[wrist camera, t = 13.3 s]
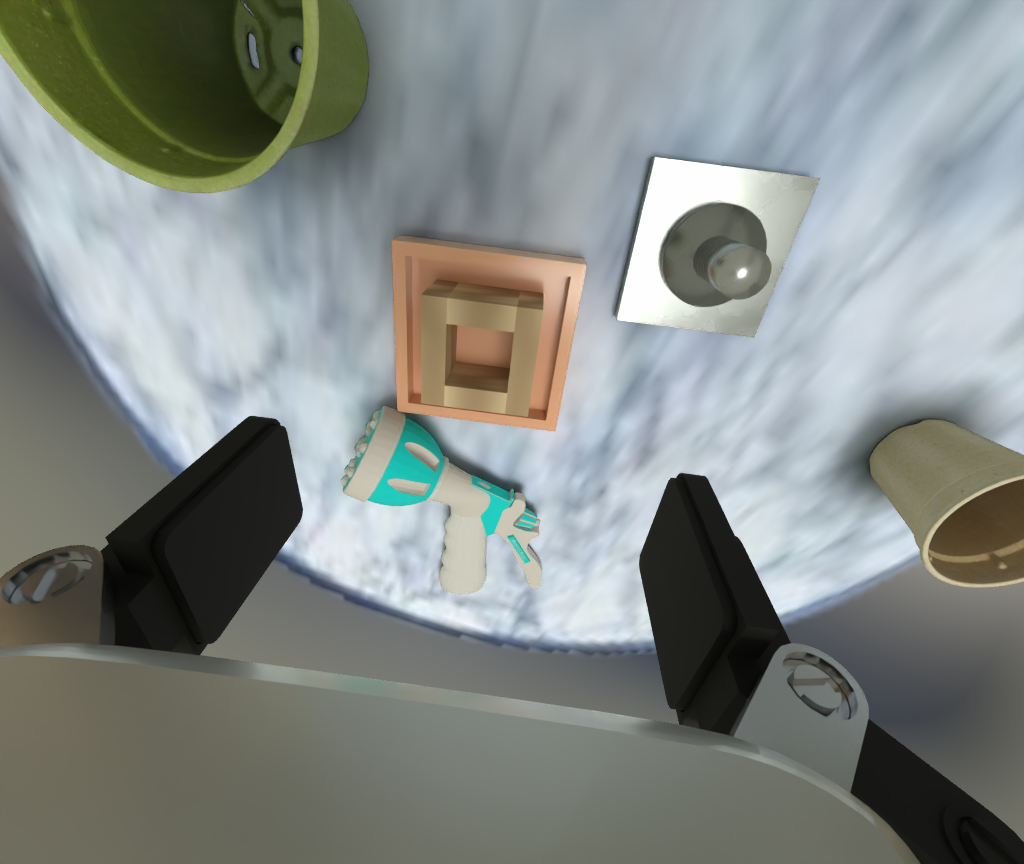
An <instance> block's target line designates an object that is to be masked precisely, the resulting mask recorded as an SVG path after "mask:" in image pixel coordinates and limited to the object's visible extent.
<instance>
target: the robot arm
mask: <svg viewBox="0 0 1024 864" xmlns="http://www.w3.org/2000/svg"><path fill="white" fill-rule="evenodd" d="M302 513H303V507H302V502H301V497H300V493H299V488H298V483H297V478H296V473H295V469H294V464H293V459H292V454H291V449H290V445H289V440H288V435H287V431H286V428H285V427H284V426H281V425H280V423H279V422H278V420H276V419H272V418H265V417H257V416H249V417H248V418H246V419H245V420H244V421H242V422H241V423H240V424H239V425H238V426H236V427H235V428H234V429H233V430H232V431H231V432H229V433H228V434H227V435H226V436H225V437H223V438H222V439H221V440H220V441H219V442H218V443H216V444H215V445H214V446H213V447H212V448H210V449H209V450H208V451H207V452H206V453H205V454H203V455H202V456H201V457H200V458H199V459H197V460H196V461H195V462H194V463H193V464H192V465H190V466H189V467H188V468H187V469H186V470H184V471H183V472H182V473H181V474H180V475H179V476H177V477H176V478H175V479H174V480H173V481H172V482H170V483H169V484H168V485H167V486H166V487H164V488H163V489H162V490H161V491H160V492H159V493H157V494H156V495H155V496H154V497H153V498H151V499H150V500H149V501H148V502H147V503H146V504H144V505H143V506H142V507H141V508H140V509H138V510H137V511H136V512H135V513H134V514H133V515H131V516H130V517H129V518H128V519H127V520H125V521H124V522H123V523H122V524H121V525H119V526H118V527H117V528H116V529H115V530H114V531H112V532H111V533H110V534H109V535H108V536H107V537H106V539H107V541H108V543H109V544H108V545H107V546H106V547H105V548H103V549H102V550H101V551H99V550H97V549H96V548H95V547H90V546H85V545H73V546H72V545H70V546H65V547H60V548H55V549H52V550H49V551H46V552H43V553H41V554H38V555H35V556H33V557H31V558H29V559H27V560H25V561H24V562H21V563H20V564H18V565H17V566H15V567H14V568H12V569H11V570H9V571H8V572H6V573H5V574H4V575H3V576H2V577H1V578H0V864H1024V842H1023V841H1022V840H1021V839H1020V838H1019V837H1018V836H1017V834H1016V833H1015V832H1014V831H1013V830H1012V829H1010V828H1009V827H1008V826H1007V825H1006V824H1005V823H1003V822H1002V821H1001V820H1000V819H999V818H998V817H996V816H995V815H994V814H993V813H992V812H990V811H989V810H988V809H986V808H985V807H984V806H982V805H981V804H980V803H978V802H977V801H976V800H974V799H973V798H972V797H971V796H969V795H968V794H966V793H965V792H964V791H963V790H961V789H960V788H959V787H957V786H956V785H955V784H953V783H952V782H951V781H950V780H948V779H947V778H946V777H944V776H943V775H941V774H940V773H939V772H938V771H936V770H935V769H934V768H932V767H931V766H930V765H929V764H927V763H926V762H925V761H923V760H922V759H921V758H919V757H918V756H917V755H915V754H914V753H912V752H911V751H910V750H909V749H907V748H906V747H905V746H904V745H902V744H901V743H899V742H898V741H897V740H896V739H894V738H893V737H892V736H890V735H889V734H888V733H886V732H885V731H884V730H883V729H881V728H880V727H878V726H877V725H876V724H875V723H873V722H872V721H871V720H869V710H868V709H869V707H868V704H867V701H866V698H865V695H864V693H863V691H862V690H861V688H860V687H859V685H858V683H857V682H856V681H855V679H854V678H853V677H852V676H851V675H850V674H849V673H848V671H846V670H845V668H844V667H843V666H841V665H840V664H839V663H837V662H836V661H835V660H834V659H832V658H831V657H830V656H828V655H826V654H825V653H823V652H821V651H819V650H817V649H815V648H812V647H809V646H806V645H803V644H792V643H791V642H790V641H789V638H788V636H787V634H786V632H785V630H784V628H783V626H782V624H781V622H780V620H779V618H778V616H777V614H776V612H775V610H774V608H773V606H772V603H771V601H770V599H769V597H768V595H767V593H766V591H765V589H764V587H763V585H762V583H761V581H760V579H759V577H758V575H757V573H756V571H755V569H754V567H753V564H752V562H751V560H750V558H749V556H748V554H747V552H746V550H745V548H744V546H743V544H742V542H741V541H740V539H739V538H738V537H736V536H735V535H734V533H733V531H732V529H731V527H730V525H729V523H728V521H727V518H726V516H725V514H724V512H723V510H722V508H721V506H720V504H719V502H718V500H717V497H716V495H715V493H714V491H713V489H712V487H711V485H710V483H709V481H708V479H707V478H706V477H705V476H700V475H693V474H685V473H680V474H679V475H678V476H677V478H670V480H669V481H668V483H667V486H666V489H665V491H664V494H663V497H662V499H661V502H660V504H659V507H658V510H657V512H656V515H655V518H654V520H653V523H652V525H651V528H650V531H649V533H648V536H647V538H646V541H645V544H644V546H643V549H642V552H641V555H640V560H639V568H640V573H641V578H642V583H643V588H644V593H645V598H646V602H647V607H648V612H649V617H650V622H651V627H652V631H653V636H654V641H655V646H656V651H657V655H658V660H659V665H660V670H661V675H662V680H663V684H664V689H665V694H666V699H667V702H668V705H669V707H670V708H671V709H676V712H677V716H678V721H679V725H678V724H672V723H665V722H660V721H654V720H648V719H641V718H635V717H628V716H623V715H617V714H611V713H605V712H599V711H592V710H585V709H578V708H571V707H565V706H558V705H551V704H544V703H537V702H530V701H523V700H517V699H510V698H502V697H496V696H489V695H482V694H475V693H468V692H461V691H455V690H447V689H440V688H433V687H426V686H419V685H412V684H405V683H398V682H391V681H384V680H377V679H370V678H362V677H355V676H348V675H341V674H334V673H327V672H319V671H312V670H305V669H297V668H289V667H283V666H275V665H268V664H260V663H253V662H246V661H238V660H231V659H224V658H216V657H209V656H201V655H200V654H201V653H202V651H203V650H204V649H205V647H206V646H207V644H211V643H214V642H215V641H216V640H217V639H218V638H219V637H220V635H221V634H222V633H223V631H224V630H225V628H226V627H227V625H228V624H229V623H230V621H231V620H232V618H233V617H234V615H235V614H236V613H237V611H238V610H239V608H240V607H241V605H242V604H243V602H244V601H245V600H246V598H247V597H248V595H249V594H250V592H251V591H252V589H253V588H254V587H255V585H256V584H257V582H258V581H259V580H260V578H261V577H262V575H263V574H264V572H265V571H266V570H267V568H268V567H269V565H270V564H271V562H272V561H273V560H274V558H275V557H276V555H277V554H278V552H279V551H280V550H281V548H282V547H283V545H284V544H285V542H286V541H287V540H288V538H289V537H290V535H291V534H292V532H293V531H294V530H295V528H296V527H297V525H298V524H299V522H300V520H301V518H302Z"/></svg>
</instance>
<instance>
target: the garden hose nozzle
mask: <svg viewBox="0 0 1024 864" xmlns="http://www.w3.org/2000/svg"><path fill="white" fill-rule="evenodd" d="M372 418H373V419H372V421H369V422H367V424H366V431H365V434H366V436H365V438H361V439H360V440H359V442H358V443H357V444H356V445H355V450H356V457H355V458H354V459H351V460H350V462H349V465H347V466H346V468H345V473H346V474H347V475H345V476H344V477H343V478H342V480H341V483H342V485H343V486H344V487H343V493H344V494H346V495H348V496H350V497H353V498H355V499H358V500H360V501H362V502H364V501H366V500H369V501H371V502H374V503H378V504H382V505H389V506H406V505H412V504H416V503H419V502H422V501H428V502H429V501H431V500H432V501H436V502H440V503H444V504H447V505H449V506H450V507H451V509H450V511H451V515H450V517H449V518H448V519H447V521H446V523H445V528H446V533H445V536H444V542H445V545H446V550H445V551H444V552H443V554H442V556H441V560H442V563H443V566H442V568H441V570H440V573H439V578H440V584H441V587H442V588H443V589H444V590H445V591H448V592H450V593H454V594H470V593H474V592H476V591H478V590H480V589H481V588H482V586H483V584H484V581H485V579H486V567H485V559H486V536H488V535H491V534H494V533H496V534H498V535H499V536H501V537H502V538H503V539H504V540H505V541H506V542H507V543H508V544H509V545H510V547H511V549H512V551H513V553H514V555H515V557H516V559H517V561H518V563H519V564H520V566H521V568H522V569H523V571H524V573H525V575H526V578H527V581H528V583H529V584H530V586H531V588H533V589H538V588H539V586H540V582H541V577H542V566H541V562H540V560H539V558H538V557H537V556H536V554H535V553H534V552H533V551H532V550H531V548H530V547H529V546H528V543H529V542H530V540H532V539H533V538H535V537H536V536H538V535H539V527H538V525H539V524H540V520H539V519H538V518H537V515H536V514H535V513H533V512H532V511H530V510H529V509H527V508H526V507H525V506H526V504H525V496H524V495H523V494H522V493H517V492H515V493H514V489H511V490H510V492H508V491H506V490H503V489H501V488H499V487H497V486H495V485H493V484H491V483H489V482H486V481H484V480H482V479H480V478H478V477H476V476H474V475H470V474H468V473H466V472H465V471H463V470H461V469H459V468H458V467H456V466H454V465H453V464H451V463H449V459H448V458H447V457H445V456H443V455H442V453H441V450H440V448H439V446H438V444H437V443H436V441H435V440H434V439H433V438H432V436H431V435H430V434H429V433H428V432H427V431H426V430H425V429H423V428H422V427H421V426H420V425H418V424H417V423H415V422H414V421H412V420H410V419H408V418H406V416H405V414H404V413H402V412H400V411H397V410H395V409H393V408H390V407H387V406H384V407H382V408H381V410H377V411H375V412H374V413H373V416H372Z"/></svg>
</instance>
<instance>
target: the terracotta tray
mask: <svg viewBox="0 0 1024 864" xmlns="http://www.w3.org/2000/svg"><path fill="white" fill-rule="evenodd" d="M392 267H393V297H394V327H395V357H396V387H397V411H400V412H408V413H415V414H423V415H431V416H439V417H447V418H454V419H462V420H470V421H478V422H486V423H493V424H501V425H509V426H517V427H525V428H532V429H540V430H548V431H556V425H557V420H558V415H559V409H560V404H561V399H562V394H563V388H564V383H565V378H566V372H567V367H568V362H569V357H570V351H571V346H572V341H573V335H574V330H575V325H576V320H577V314H578V309H579V304H580V298H581V293H582V288H583V283H584V277H585V272H586V267H587V264H586V261H585V259H584V258H577V257H570V256H562V255H554V254H546V253H538V252H530V251H523V250H515V249H507V248H499V247H491V246H484V245H476V244H468V243H460V242H452V241H445V240H437V239H429V238H421V237H413V236H406V235H401V236H398V237H396V238H394V239H392ZM436 279H438V280H446V281H453V282H461V283H469V284H477V285H485V286H493V287H501V288H509V289H516V290H524V291H532V292H540V293H544V302H543V316H542V323H541V330H540V337H539V343H538V350H537V357H536V364H535V371H534V378H533V385H532V391H531V398H530V405H529V412H528V417H525V416H517V415H509V414H501V413H493V412H486V411H478V410H470V409H462V408H454V407H446V406H438V405H431V404H423V403H421V294H422V293H423V292H424V291H425V290H426V289H427V288H428V287H429V286H430V285H431V284H432V283H433V282H434V281H435V280H436ZM513 339H514V332H507V331H499V330H491V329H483V328H475V327H467V326H459V325H457V345H456V362H464V363H472V364H480V365H488V366H495V367H503V368H510V365H511V356H512V348H513Z"/></svg>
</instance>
